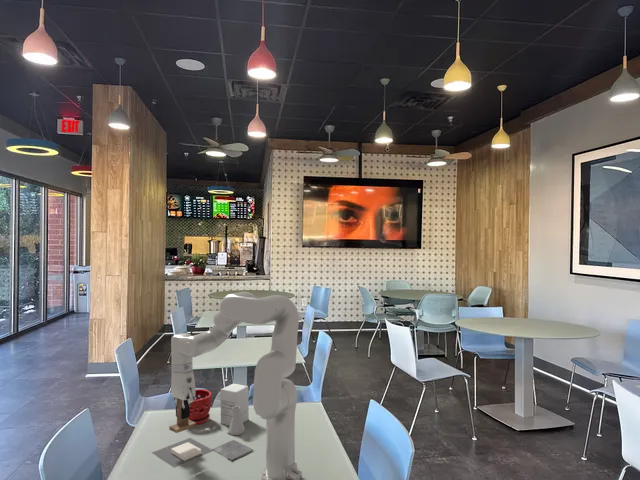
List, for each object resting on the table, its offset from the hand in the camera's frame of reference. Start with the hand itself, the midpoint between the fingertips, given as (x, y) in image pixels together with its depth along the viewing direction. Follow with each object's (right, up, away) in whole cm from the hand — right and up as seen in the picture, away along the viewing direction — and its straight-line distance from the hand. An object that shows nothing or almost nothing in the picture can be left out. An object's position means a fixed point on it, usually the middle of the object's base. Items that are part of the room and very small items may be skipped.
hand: (182, 416), depth 155 cm
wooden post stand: (0, -4, 0) cm, 4 cm away
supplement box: (+14, -14, +27) cm, 34 cm away
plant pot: (-3, -14, +27) cm, 31 cm away
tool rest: (+19, -13, +1) cm, 23 cm away
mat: (0, -13, -1) cm, 13 cm away
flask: (+17, -14, +17) cm, 27 cm away
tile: (-1, -12, +1) cm, 12 cm away
